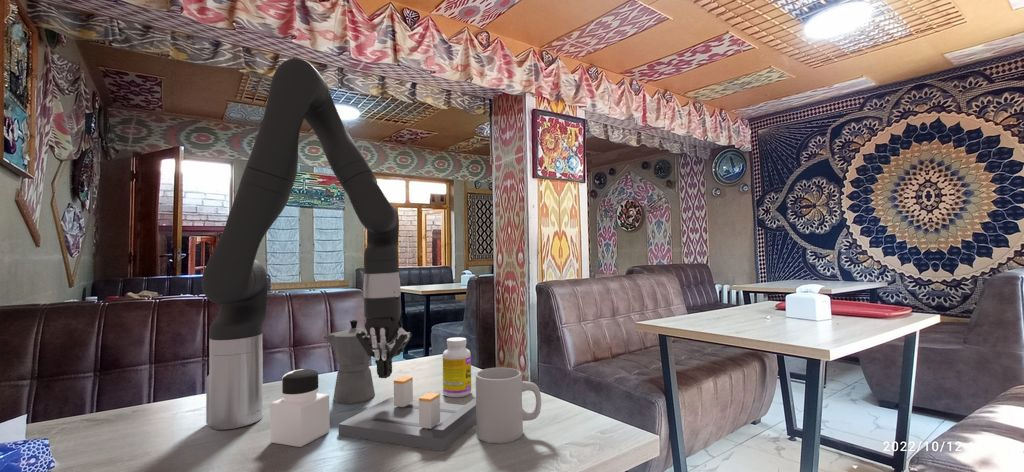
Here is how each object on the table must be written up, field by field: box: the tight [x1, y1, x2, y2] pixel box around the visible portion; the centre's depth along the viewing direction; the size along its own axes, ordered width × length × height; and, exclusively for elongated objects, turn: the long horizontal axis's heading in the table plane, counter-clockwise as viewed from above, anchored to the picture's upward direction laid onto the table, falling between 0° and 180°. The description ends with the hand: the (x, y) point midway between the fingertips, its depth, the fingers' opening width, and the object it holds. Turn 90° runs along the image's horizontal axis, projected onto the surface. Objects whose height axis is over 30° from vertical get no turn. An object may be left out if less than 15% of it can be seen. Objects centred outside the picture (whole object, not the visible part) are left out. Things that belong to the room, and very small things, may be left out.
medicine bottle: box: [269, 368, 330, 448], centre depth 82 cm, size 7×7×12 cm
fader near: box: [418, 392, 441, 429], centre depth 80 cm, size 2×3×5 cm
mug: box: [475, 367, 542, 444], centre depth 81 cm, size 12×8×11 cm
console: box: [337, 396, 476, 452], centre depth 86 cm, size 22×16×4 cm
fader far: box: [393, 375, 414, 407], centre depth 92 cm, size 2×3×5 cm
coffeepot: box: [323, 319, 377, 405], centre depth 104 cm, size 15×9×18 cm, turn 100°
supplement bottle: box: [442, 336, 472, 398], centre depth 105 cm, size 7×7×13 cm
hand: (384, 377), depth 93 cm, fingers closed
